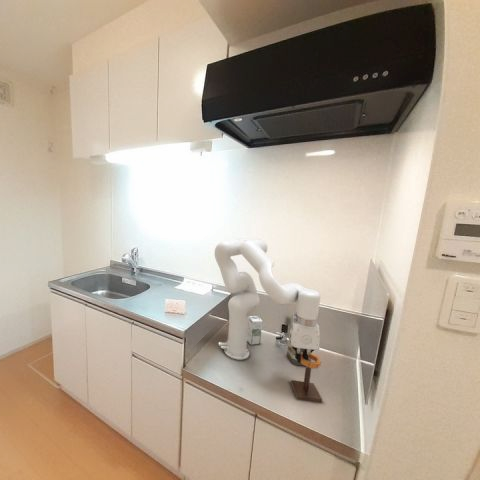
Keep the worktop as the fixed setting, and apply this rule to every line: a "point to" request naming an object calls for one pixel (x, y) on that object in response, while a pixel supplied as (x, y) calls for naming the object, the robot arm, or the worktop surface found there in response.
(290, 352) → the liquor
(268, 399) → the worktop surface
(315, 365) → the ring
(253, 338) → the syrup box
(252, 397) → the worktop surface
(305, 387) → the stand
